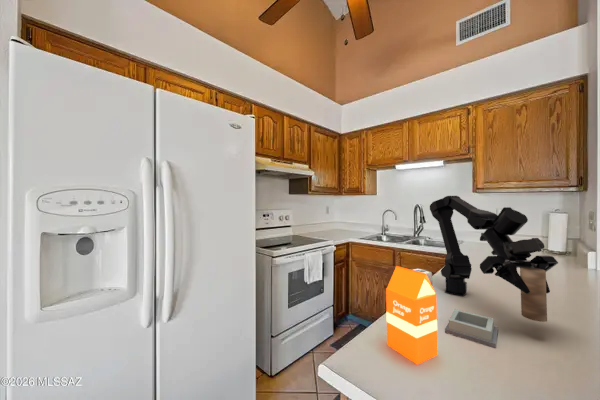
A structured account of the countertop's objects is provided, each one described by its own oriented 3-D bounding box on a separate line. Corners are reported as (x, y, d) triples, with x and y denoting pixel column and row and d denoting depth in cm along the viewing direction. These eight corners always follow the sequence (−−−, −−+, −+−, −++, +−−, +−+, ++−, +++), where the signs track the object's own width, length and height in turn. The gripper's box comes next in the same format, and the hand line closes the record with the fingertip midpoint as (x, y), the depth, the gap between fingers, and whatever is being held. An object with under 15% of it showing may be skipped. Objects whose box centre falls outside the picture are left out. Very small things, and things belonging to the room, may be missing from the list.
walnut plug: (521, 317, 64) (520, 269, 64) (521, 311, 68) (519, 265, 68) (548, 323, 61) (546, 272, 61) (546, 316, 65) (544, 268, 65)
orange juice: (417, 365, 53) (415, 276, 54) (386, 344, 61) (385, 267, 62) (438, 354, 57) (436, 271, 57) (406, 336, 65) (405, 263, 65)
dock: (445, 332, 67) (444, 320, 67) (452, 318, 75) (452, 307, 75) (495, 348, 59) (495, 334, 59) (497, 330, 68) (497, 318, 68)
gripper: (486, 228, 69) (522, 278, 58) (550, 227, 69) (599, 277, 58) (467, 250, 76) (496, 298, 65) (525, 249, 77) (564, 297, 65)
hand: (538, 292), depth 63 cm, fingers closed on walnut plug, 5 cm apart
